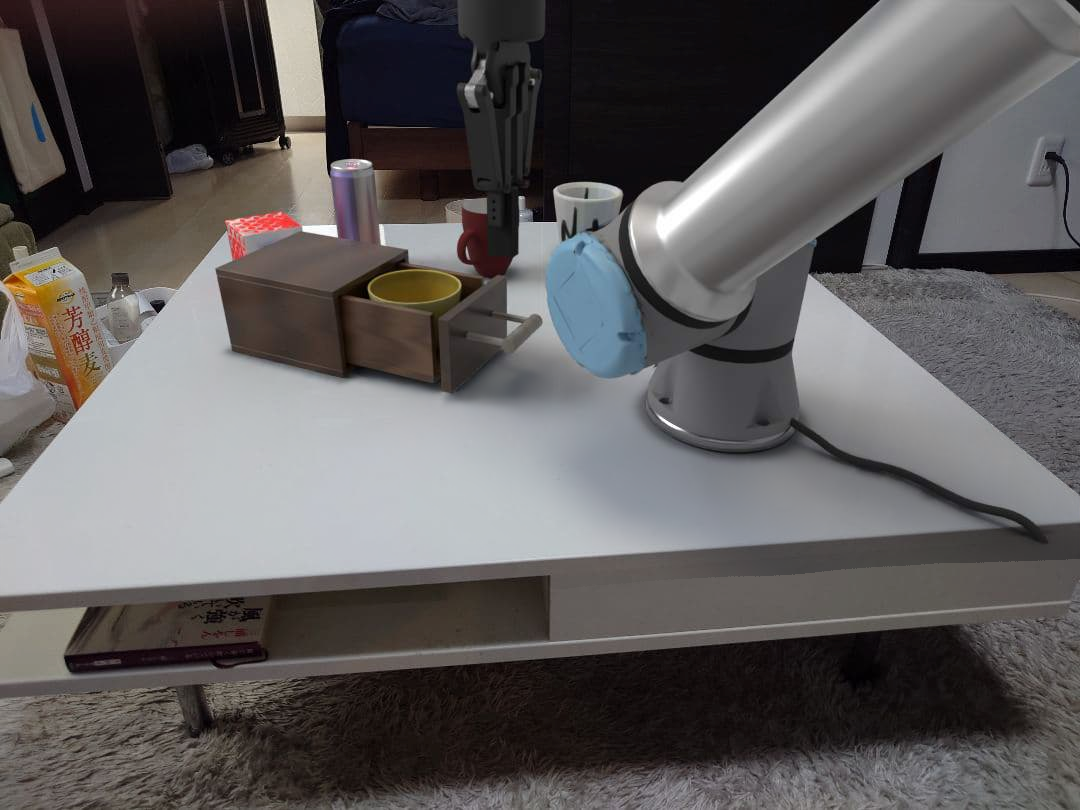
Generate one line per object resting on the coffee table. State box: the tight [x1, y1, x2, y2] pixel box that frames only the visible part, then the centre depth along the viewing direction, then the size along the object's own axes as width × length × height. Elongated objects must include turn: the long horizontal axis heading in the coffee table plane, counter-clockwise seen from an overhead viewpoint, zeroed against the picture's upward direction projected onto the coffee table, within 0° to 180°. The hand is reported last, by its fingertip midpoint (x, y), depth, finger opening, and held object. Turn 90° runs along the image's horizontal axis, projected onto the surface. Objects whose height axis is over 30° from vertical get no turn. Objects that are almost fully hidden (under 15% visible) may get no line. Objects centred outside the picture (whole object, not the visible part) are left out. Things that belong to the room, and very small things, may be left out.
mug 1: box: [456, 197, 514, 279], centre depth 109 cm, size 11×8×10 cm
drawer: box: [338, 261, 544, 395], centre depth 85 cm, size 20×13×8 cm, turn 67°
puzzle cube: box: [225, 211, 304, 261], centre depth 108 cm, size 8×8×8 cm
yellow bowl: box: [368, 269, 461, 349], centre depth 86 cm, size 10×10×7 cm
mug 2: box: [552, 181, 624, 245], centre depth 120 cm, size 10×15×10 cm
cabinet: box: [214, 231, 410, 379], centre depth 90 cm, size 16×15×10 cm
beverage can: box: [329, 158, 382, 245], centre depth 110 cm, size 6×6×15 cm
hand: (503, 253), depth 78 cm, fingers closed
